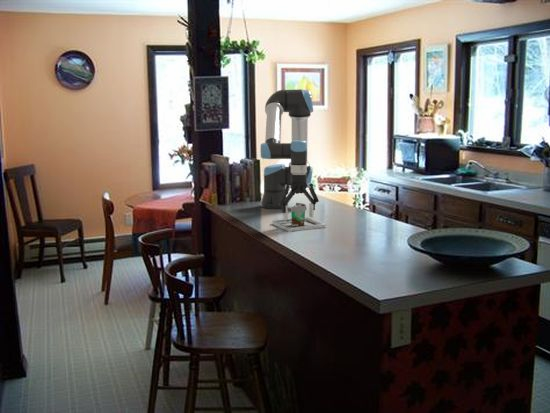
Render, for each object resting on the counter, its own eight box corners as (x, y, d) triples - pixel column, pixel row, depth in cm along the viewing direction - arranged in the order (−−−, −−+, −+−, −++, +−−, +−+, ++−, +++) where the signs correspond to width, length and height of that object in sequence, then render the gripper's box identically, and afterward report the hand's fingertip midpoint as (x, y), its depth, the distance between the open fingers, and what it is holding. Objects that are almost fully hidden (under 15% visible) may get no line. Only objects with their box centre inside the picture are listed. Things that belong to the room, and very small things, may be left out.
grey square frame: (271, 224, 289) (271, 220, 289) (308, 220, 297) (308, 217, 297) (288, 231, 273) (288, 228, 273) (326, 227, 281) (326, 224, 281)
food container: (304, 228, 278) (304, 207, 277) (291, 228, 280) (291, 207, 278) (308, 223, 290) (308, 203, 289) (296, 222, 292) (296, 202, 290)
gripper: (277, 176, 272) (278, 222, 276) (326, 173, 283) (325, 217, 286) (271, 174, 279) (271, 219, 283) (318, 171, 289) (317, 214, 293)
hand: (298, 218), depth 285 cm, fingers open, 13 cm apart
